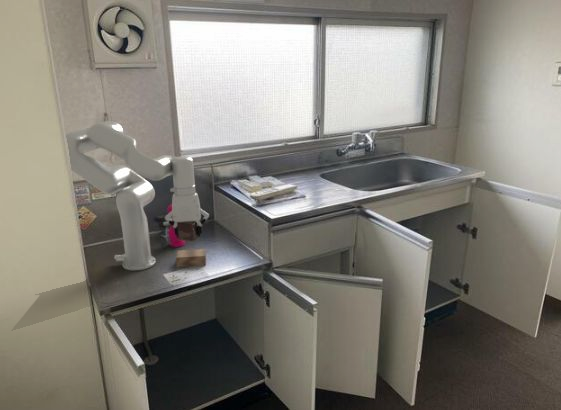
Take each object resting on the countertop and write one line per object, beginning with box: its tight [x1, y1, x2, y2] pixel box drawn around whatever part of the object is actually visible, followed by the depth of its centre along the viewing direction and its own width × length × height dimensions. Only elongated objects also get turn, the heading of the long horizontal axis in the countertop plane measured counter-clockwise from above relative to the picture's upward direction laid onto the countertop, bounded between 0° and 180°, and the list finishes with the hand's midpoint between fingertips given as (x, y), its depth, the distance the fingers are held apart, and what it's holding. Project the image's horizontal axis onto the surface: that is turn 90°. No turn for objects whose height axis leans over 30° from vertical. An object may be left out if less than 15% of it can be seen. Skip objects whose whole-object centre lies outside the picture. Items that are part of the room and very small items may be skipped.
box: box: [177, 221, 199, 242], centre depth 167 cm, size 6×6×7 cm
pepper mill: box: [167, 203, 186, 248], centre depth 192 cm, size 7×7×20 cm
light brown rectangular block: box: [175, 248, 207, 268], centre depth 176 cm, size 11×7×4 cm, turn 97°
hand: (188, 235), depth 167 cm, fingers closed on box, 7 cm apart
